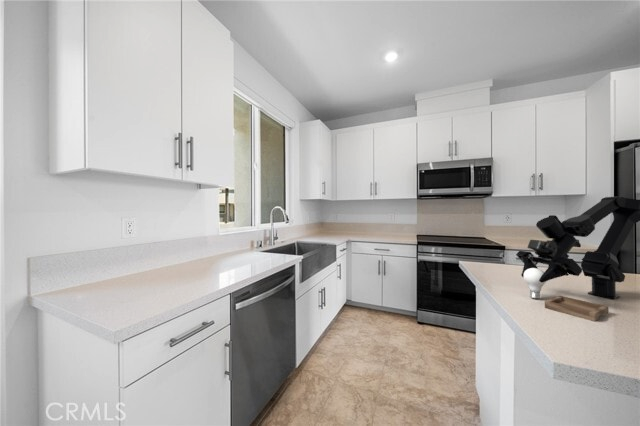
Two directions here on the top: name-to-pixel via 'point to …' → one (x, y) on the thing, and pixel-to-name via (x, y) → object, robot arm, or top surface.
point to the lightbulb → (534, 281)
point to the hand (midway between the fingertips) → (531, 279)
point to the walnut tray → (577, 308)
